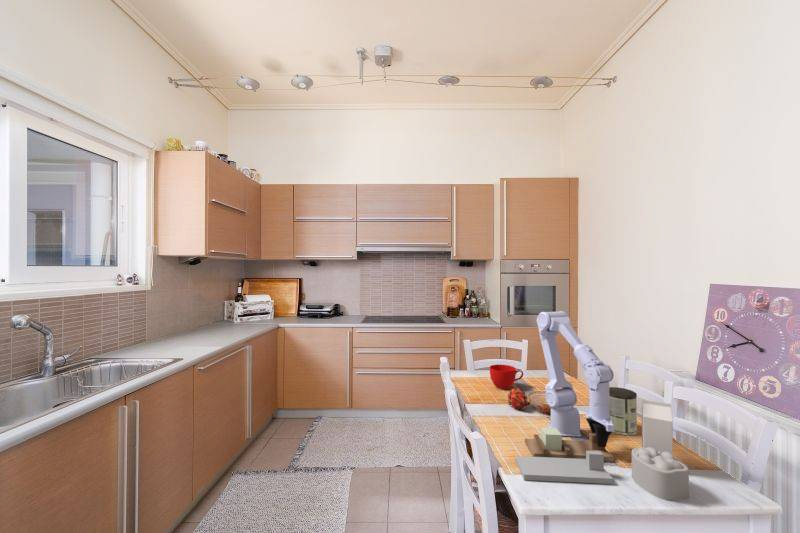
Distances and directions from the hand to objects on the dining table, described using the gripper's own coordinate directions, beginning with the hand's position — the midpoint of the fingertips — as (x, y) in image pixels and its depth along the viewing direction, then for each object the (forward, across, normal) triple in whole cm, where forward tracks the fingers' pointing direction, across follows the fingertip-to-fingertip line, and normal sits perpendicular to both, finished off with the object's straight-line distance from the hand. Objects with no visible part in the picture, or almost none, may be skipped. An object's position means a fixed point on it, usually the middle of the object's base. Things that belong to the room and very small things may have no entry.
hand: (599, 444), depth 113 cm
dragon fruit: (+3, -37, -16) cm, 41 cm away
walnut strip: (+3, 0, -10) cm, 11 cm away
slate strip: (+3, +12, -16) cm, 21 cm away
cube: (+1, 0, -15) cm, 15 cm away
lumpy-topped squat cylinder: (+3, +16, +8) cm, 18 cm away
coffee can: (+3, -19, +16) cm, 25 cm away
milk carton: (+3, +5, +14) cm, 16 cm away
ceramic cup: (+3, -64, -16) cm, 66 cm away
